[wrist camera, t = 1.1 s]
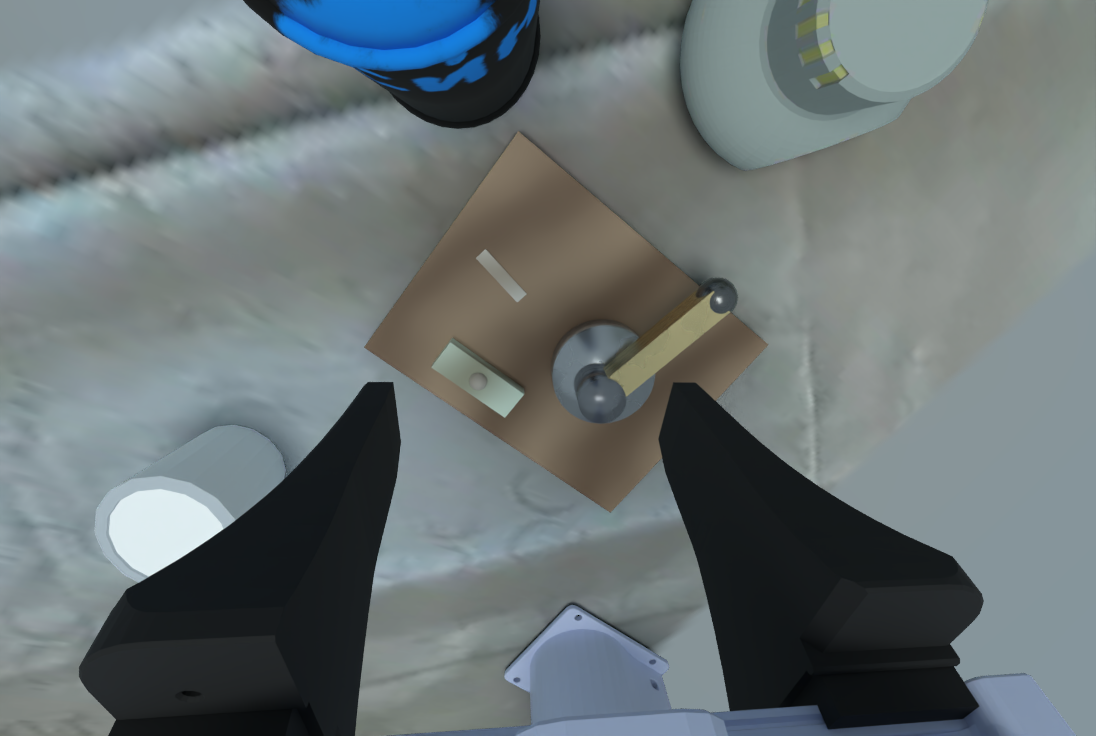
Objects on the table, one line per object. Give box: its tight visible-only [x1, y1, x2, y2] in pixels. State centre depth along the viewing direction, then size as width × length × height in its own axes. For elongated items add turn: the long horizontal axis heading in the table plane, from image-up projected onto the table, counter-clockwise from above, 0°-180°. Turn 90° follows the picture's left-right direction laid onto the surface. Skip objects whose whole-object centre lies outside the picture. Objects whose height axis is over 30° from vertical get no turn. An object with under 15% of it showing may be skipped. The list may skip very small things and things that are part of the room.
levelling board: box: [364, 131, 768, 512], centre depth 30 cm, size 18×14×2 cm
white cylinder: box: [95, 425, 286, 582], centre depth 30 cm, size 7×7×7 cm
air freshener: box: [680, 0, 988, 171], centre depth 22 cm, size 11×8×10 cm
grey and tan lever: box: [551, 278, 738, 424], centre depth 28 cm, size 11×6×4 cm, turn 132°
